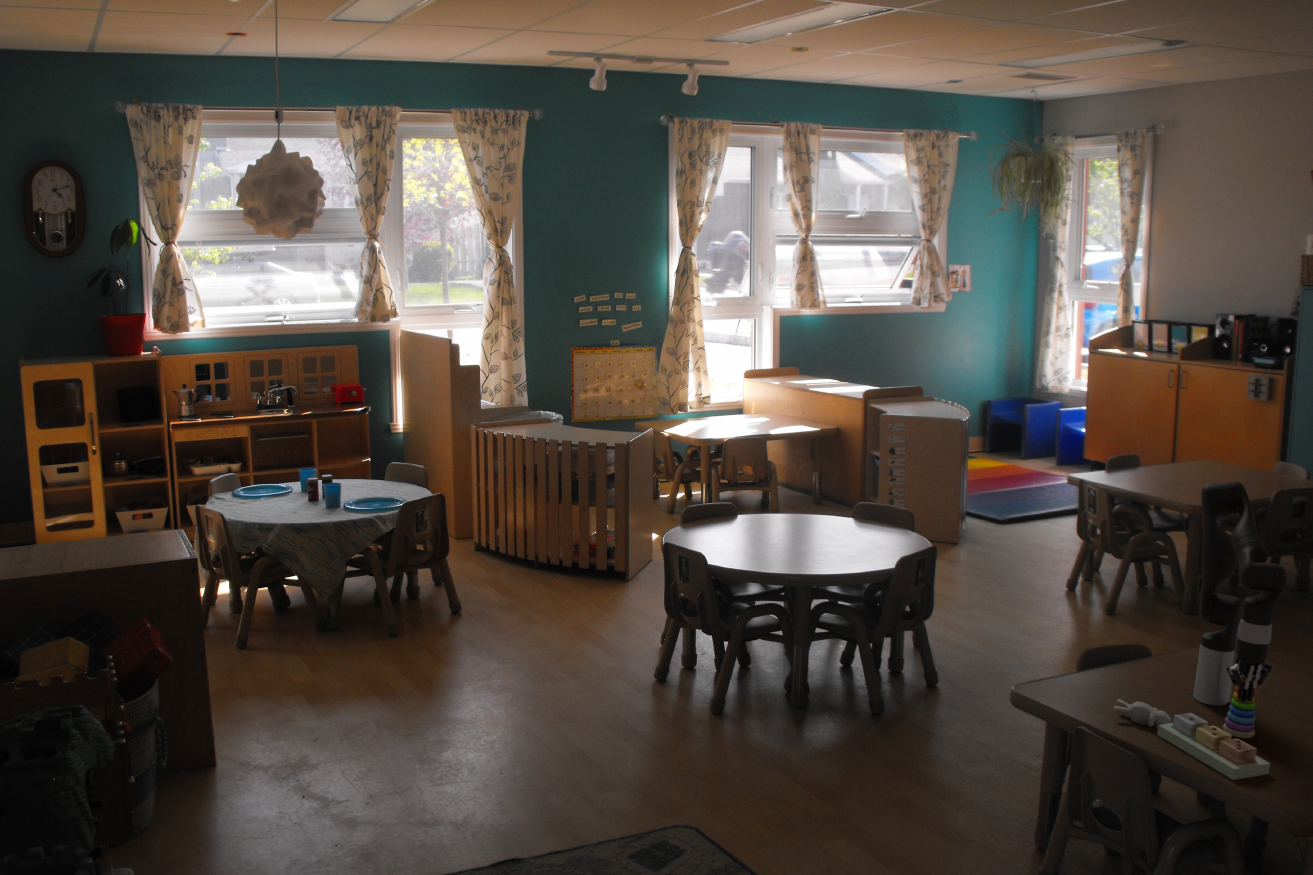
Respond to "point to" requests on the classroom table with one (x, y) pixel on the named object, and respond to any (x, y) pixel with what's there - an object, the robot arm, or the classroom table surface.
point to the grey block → (1188, 724)
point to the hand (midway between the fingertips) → (1244, 700)
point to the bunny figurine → (1143, 713)
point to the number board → (1212, 755)
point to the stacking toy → (1240, 717)
